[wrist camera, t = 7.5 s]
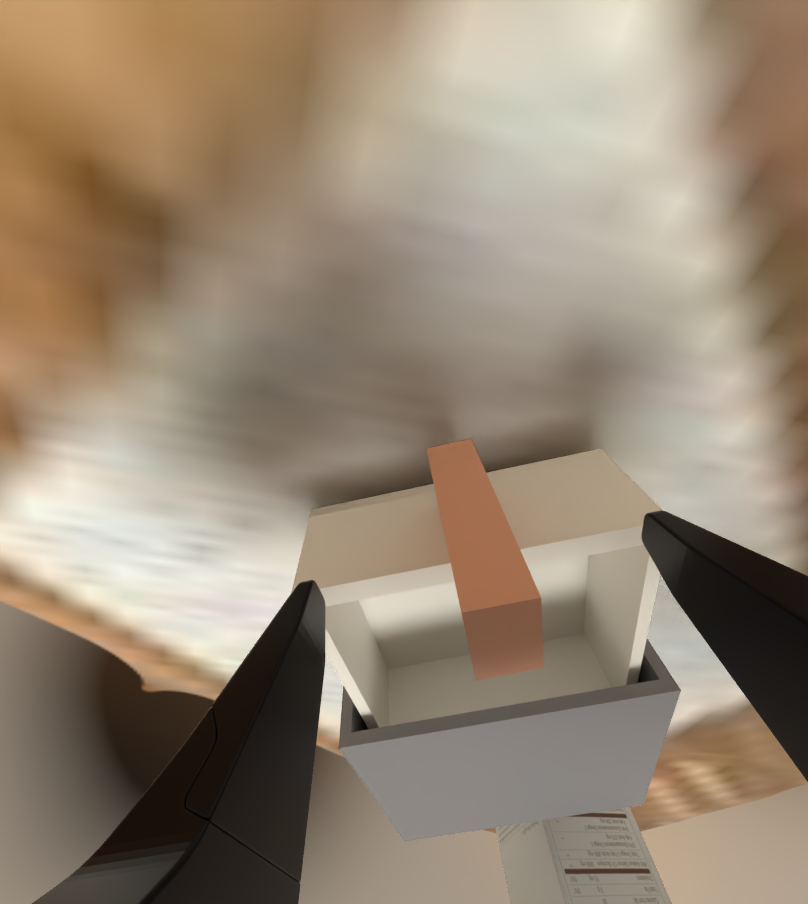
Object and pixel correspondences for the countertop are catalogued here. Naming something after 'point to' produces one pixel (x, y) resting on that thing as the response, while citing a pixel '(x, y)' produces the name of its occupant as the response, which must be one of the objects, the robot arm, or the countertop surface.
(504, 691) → the tray
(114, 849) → the robot arm
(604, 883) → the supplement box
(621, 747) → the mailer sleeve
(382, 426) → the countertop surface
